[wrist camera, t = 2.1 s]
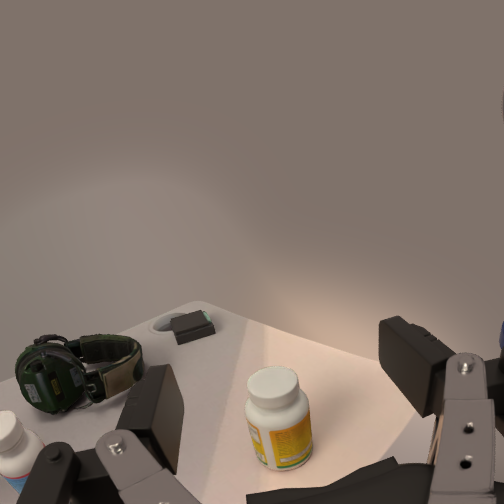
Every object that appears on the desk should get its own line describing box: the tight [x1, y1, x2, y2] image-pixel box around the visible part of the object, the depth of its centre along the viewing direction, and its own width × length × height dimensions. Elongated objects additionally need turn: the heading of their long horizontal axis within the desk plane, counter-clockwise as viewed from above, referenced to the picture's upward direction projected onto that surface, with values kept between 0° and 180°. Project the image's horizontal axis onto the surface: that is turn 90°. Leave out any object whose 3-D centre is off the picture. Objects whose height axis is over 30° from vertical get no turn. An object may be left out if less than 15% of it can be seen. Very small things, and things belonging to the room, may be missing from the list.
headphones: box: [15, 334, 144, 415], centre depth 38 cm, size 13×13×20 cm
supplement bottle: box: [245, 366, 312, 471], centre depth 24 cm, size 5×5×10 cm
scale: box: [170, 310, 215, 345], centre depth 53 cm, size 7×7×2 cm
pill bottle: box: [0, 410, 70, 504], centre depth 18 cm, size 6×6×11 cm
